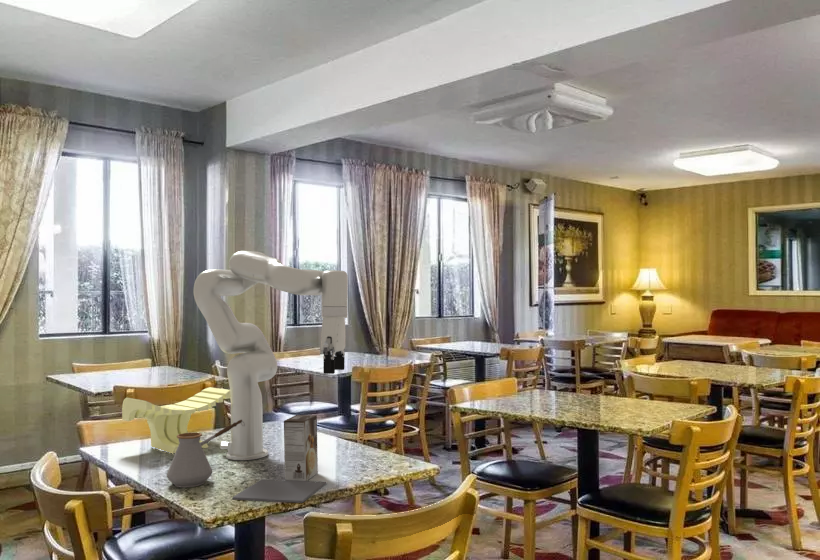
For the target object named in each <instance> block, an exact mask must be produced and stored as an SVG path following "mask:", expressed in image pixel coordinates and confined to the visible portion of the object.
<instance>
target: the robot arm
mask: <svg viewBox="0 0 820 560" xmlns="http://www.w3.org/2000/svg"><path fill="white" fill-rule="evenodd" d="M228 268H229V269H219V268H217V269H215V268H214V269H213V268H212V269H207V270H204V271H202V272H200V273H199V274H198V275H197V277H196V279H195V280H194V285H193V297H194V301H195V304H196V305H197V308H198V310H200V312H201V314H202V316H203V318H204V319H205V320H206V323H207V324H208V327H209V330H210V332H211V334H212V336H213V338H214V339H215V341H216V343H217V346H218V347H219V349H220V350H221V351H222V352H223V353H225V354H229V355H232V354H237V355H235V356H234V357H232V358H231V359H230V360H229V362H228V364H227V367H226V368H227V369H226V373H227V379H228V385H229V390H230V425H232V424H233V423H234V422H235V423H236V422H237V421H239V420H242V421H243V422H244V423H245V426H244V423H243V422H241V423H242V425H243V426H242V425H241V423H240V424H237V426H236V427H233V428H232V429H230V441H221V442H220V443H219V448H220V449H221V450H227V452H226V455H225V458H226V459H228V460H232V461H250V460H258V459H262V458H265V457H267V456H268V455H269V451H268V449H266V448H264V447H263V446H264V439H263V438H264V437H263V436H264V434H263V432H264V431H263V425H264V424H263V396H262V395H263V394H262V391H261V389H260V388H261V387H260V386H259V383H260V382H265V381H269V380H271V379H272V378H274V377H275V376H276V374H277V371H278V362H277V359H276V356H275V354H274V352H273V350H272V348H271V346H270V344H269V342H268V341H267V338H266V336H265V335H264V333H263V331H262V330H261V328H259V327H258V326H257V325H256V324H253V322H252V323H251V322H240V321H239V320H238V319H237V317H236V316H235V314H234V312H233V310H232V308H231V307H230V305H229V304H228V303H227V302H225V300H224V299H223V298H222V297H235V296H236V297H237V296H240V295H242V294H244V293H246V291H248V290H249V289H251V288H252V287H254V286H256V285H257V284H261V285H265V286H266V285H267V286H270V287H271V288H273V289H275V290H277V291H281V292H285V293H288V294H291V295H292V294H293V295H297V296H321V318H322V323H321V331H320V332H321V335H320V336H321V337H320V351H321V353H322V354H323V356H322V357H323V371H322V372H323V374H324V375H325V374H329V375H330V374H331V375H333V374H335V373H336V371H344V370H345V362H346V361H345V360H346V359H345V349H346V339H347V338H346V335H347V334H346V319H348V299H349V298H348V292H349V291H348V290H349V289H348V286H349V285H348V284H349V283H348V281H349V280H348V279H349V278H348V273H347V272H346V271H345V270H339V269H338V270H337V269H336V270H330V269H329V270H319V269H318V270H317V269H301V268H296V267H292V266H289V265H288V266H287V265H285V264H283V263H282V261H281V260H280V259H278V258H275V257H271V256H268V255H267V254H265V253H264V252H260V251H251V250H240V251H237V252H235V253H233V254H232V255H231V256H230V259H229V261H228Z"/></svg>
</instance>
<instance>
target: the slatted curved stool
mask: <svg viewBox="0 0 820 560" xmlns="http://www.w3.org/2000/svg"><path fill="white" fill-rule="evenodd" d="M224 399H225V400H227V399H231V397H230V389H227V388H226V389H225V388H218V387H210V386H209V387H206V388H204V389H202V390H201V391H200V392H197V393H196V394H194V395H193V396H191V397H188V398H187V399H186V400H182V401H179V402H176V403H173V404H166V405H165V404H164V405H156V404H154V403H152V402H149V400H142V399H138V398H132V397H125V398H124V399H123V401H122V408H121V413H122V414H121V419H122V421H126V422H130V421H132V420H135V419H146V420H147V425H148V428H149V432H150V447H151V446H152V447H155V448H158V449H161V450H164V451H167V452H170V453H172V454H171V455H174V454H173V453H176V450H177V448H178V446H179V440H178V438H177V435H179V434H183V433H189V432H188V425H189V422H190V419H191V417H192V415H193V414H195V413H196V412H202V411H209V409H210V410H212V408H213V407H217V403H218V404H220V403H224ZM202 441H203V440H201V439H200V441H199V442H202ZM204 448H205V449H207V448H209V445H208V442H207V443H206V444H204V445H202V449H204ZM170 453H169V454H170Z"/></svg>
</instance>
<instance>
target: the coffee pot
mask: <svg viewBox="0 0 820 560" xmlns="http://www.w3.org/2000/svg"><path fill="white" fill-rule="evenodd" d="M241 422H243V421H242V420H239V421H237V422H236V423H235V422H234V423H233V424H232V425H231V424H230V425H227V426H225V427H223V428H222V429H221V430H219V431H218V432H216V433H214V434H213V435H211V436H210V437H208V438H206V439H204V440H201V437H202V435H203V433H201V432H188V433H183V434H179V435H177V438H178V440H179V446H178V448H177V450H176V453H175V454H173V458H172V460H171V463H170V465H169V468H168V470H167V473H166V478H167V479H168V481H169V482H170V483H171V484H173V486H174V487H177V488H192V487H193V488H194V487H198V486H202V485H204V484H205V483H206V481H208V480H209V479H210V477H211V476H212V474H213V468H212V466H211V465H210V462H209V460H208V457H207V455H206V454H205V451H204V448H202V445H204V444H206V443H207V444H208V443H210V442H211V441H212V440H213V439H215V438H217V437H219V436H222V435H223V434H225V433H227V432H230V431H231V429H232V428H233V427H236V426H237V424H240V423H241ZM243 423H244V422H243ZM241 425H242V423H241ZM242 426H243V425H242ZM244 426H245V423H244ZM200 440H201V441H202V442H199V441H200Z"/></svg>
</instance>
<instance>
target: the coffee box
mask: <svg viewBox="0 0 820 560" xmlns="http://www.w3.org/2000/svg"><path fill="white" fill-rule="evenodd" d="M283 441H284V442H283V445H284V446H283V448H284V450H283V451H284V454H283V455H284V480H298V481H310V479H312V478H313V477H314V476H316V475H317V474H318V472H319V467H318V463H319V462H318V461H319V459H318V414H317V415H316V414H295V415H294V416H292V417H289V418H287V419H285V420H283Z"/></svg>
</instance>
